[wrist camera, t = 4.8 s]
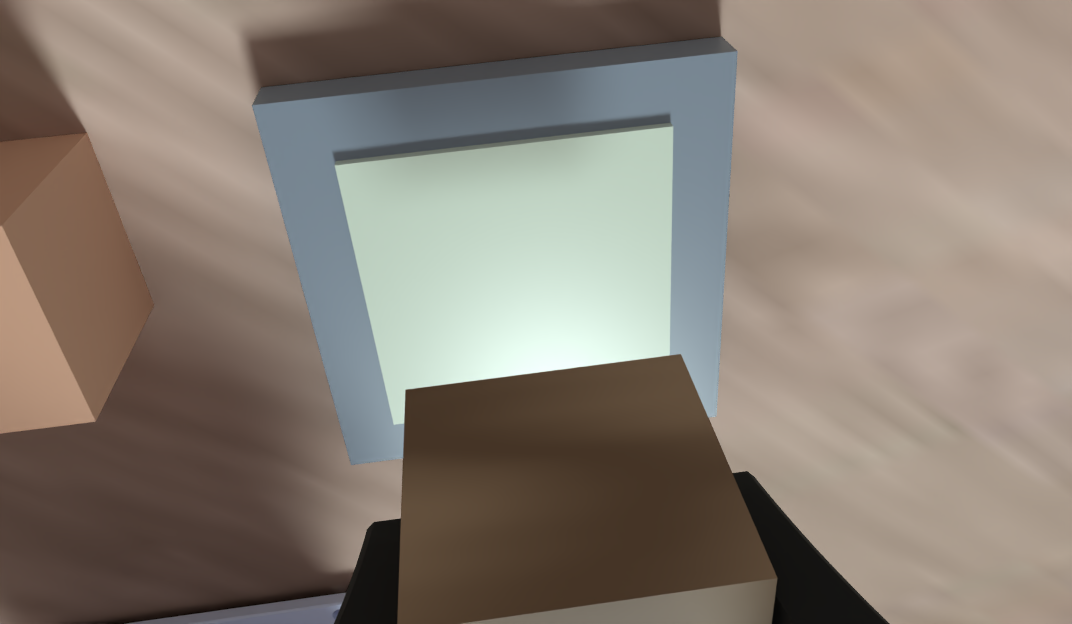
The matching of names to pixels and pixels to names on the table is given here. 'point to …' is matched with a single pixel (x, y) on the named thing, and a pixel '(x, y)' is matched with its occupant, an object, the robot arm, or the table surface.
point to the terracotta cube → (62, 285)
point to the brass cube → (575, 504)
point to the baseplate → (506, 220)
